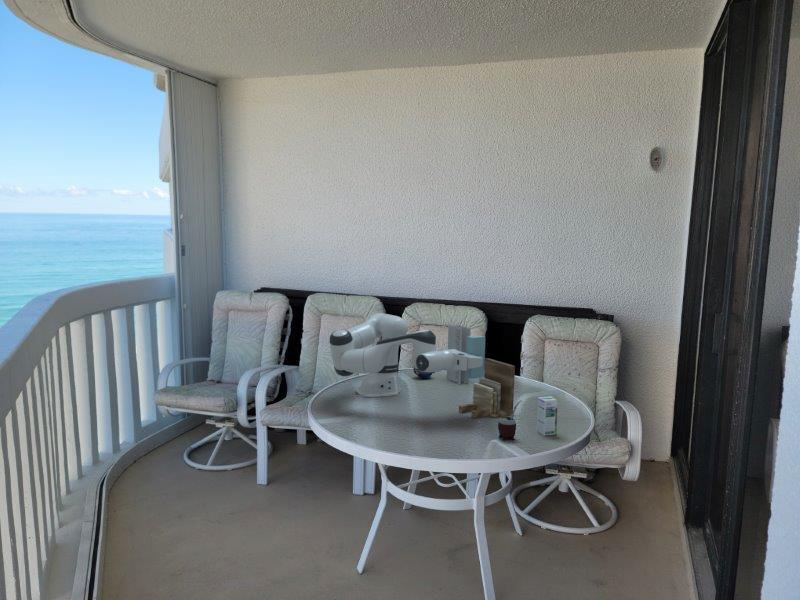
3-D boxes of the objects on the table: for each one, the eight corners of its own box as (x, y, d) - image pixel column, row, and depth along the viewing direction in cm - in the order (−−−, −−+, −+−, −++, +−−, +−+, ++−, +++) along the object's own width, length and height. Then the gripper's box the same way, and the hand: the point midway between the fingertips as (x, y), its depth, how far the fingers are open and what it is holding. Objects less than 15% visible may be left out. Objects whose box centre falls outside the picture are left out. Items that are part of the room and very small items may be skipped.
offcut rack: (479, 421, 245) (481, 370, 243) (454, 409, 261) (455, 362, 258) (512, 414, 255) (514, 365, 253) (486, 404, 271) (488, 358, 268)
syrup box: (543, 436, 228) (545, 400, 226) (536, 431, 234) (537, 396, 232) (556, 435, 230) (558, 399, 228) (548, 430, 235) (550, 395, 234)
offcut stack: (490, 413, 252) (491, 384, 251) (472, 406, 263) (473, 378, 262) (499, 412, 255) (500, 383, 254) (480, 404, 266) (481, 377, 265)
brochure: (446, 378, 319) (448, 325, 316) (455, 377, 322) (457, 324, 318) (459, 384, 306) (461, 328, 303) (468, 383, 309) (470, 328, 306)
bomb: (410, 377, 319) (410, 351, 318) (424, 375, 326) (425, 349, 325) (422, 381, 312) (422, 354, 310) (436, 378, 319) (437, 351, 317)
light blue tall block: (471, 378, 250) (472, 337, 248) (465, 376, 253) (467, 336, 251) (483, 377, 254) (485, 336, 252) (478, 375, 257) (479, 335, 255)
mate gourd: (494, 439, 223) (495, 401, 222) (502, 433, 230) (504, 396, 228) (512, 443, 219) (514, 404, 218) (520, 437, 226) (522, 400, 224)
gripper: (437, 362, 255) (462, 359, 262) (466, 371, 237) (491, 368, 245) (437, 348, 254) (462, 345, 261) (466, 356, 237) (492, 353, 244)
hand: (477, 356), depth 253 cm, fingers closed on light blue tall block, 4 cm apart
